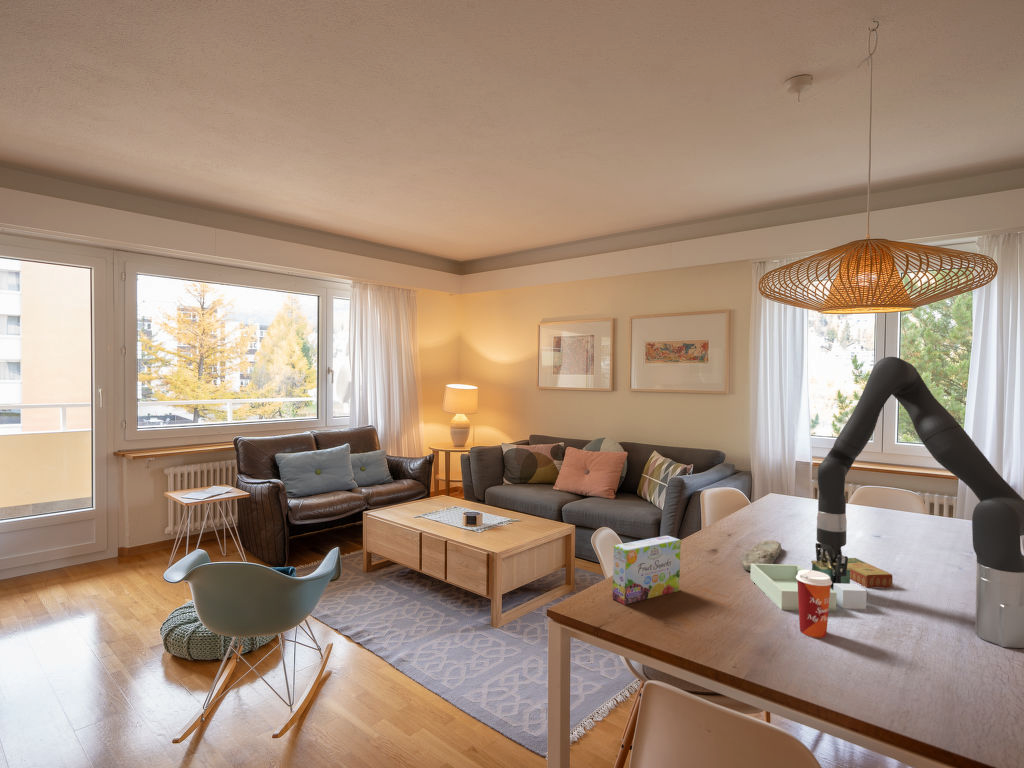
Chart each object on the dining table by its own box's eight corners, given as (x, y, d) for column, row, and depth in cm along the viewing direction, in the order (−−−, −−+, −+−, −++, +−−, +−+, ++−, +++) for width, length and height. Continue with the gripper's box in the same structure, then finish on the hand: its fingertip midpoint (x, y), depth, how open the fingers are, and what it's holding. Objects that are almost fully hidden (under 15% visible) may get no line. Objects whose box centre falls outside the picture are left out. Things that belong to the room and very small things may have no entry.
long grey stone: (787, 553, 201) (758, 550, 206) (787, 538, 201) (757, 535, 207) (769, 576, 172) (735, 571, 178) (769, 558, 172) (735, 554, 178)
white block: (866, 609, 148) (866, 590, 148) (842, 608, 149) (843, 590, 149) (855, 602, 153) (856, 583, 153) (833, 601, 154) (833, 583, 154)
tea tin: (850, 592, 160) (851, 567, 160) (820, 591, 160) (821, 567, 160) (839, 585, 166) (840, 561, 166) (811, 584, 166) (811, 560, 166)
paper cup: (816, 642, 129) (817, 582, 129) (787, 628, 136) (788, 571, 136) (839, 636, 132) (840, 577, 132) (810, 623, 139) (811, 567, 139)
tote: (836, 611, 146) (836, 592, 146) (781, 609, 147) (781, 590, 147) (797, 581, 168) (798, 564, 168) (750, 579, 169) (750, 563, 169)
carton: (866, 589, 164) (866, 574, 164) (831, 570, 180) (831, 557, 180) (893, 588, 165) (893, 573, 164) (855, 570, 181) (855, 556, 181)
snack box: (626, 606, 149) (626, 549, 148) (611, 599, 153) (612, 544, 153) (680, 591, 160) (681, 538, 160) (665, 584, 165) (666, 533, 164)
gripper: (858, 534, 156) (857, 594, 156) (831, 521, 170) (831, 576, 170) (830, 533, 156) (829, 593, 156) (806, 520, 170) (805, 575, 170)
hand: (830, 584), depth 163 cm, fingers closed on tea tin, 5 cm apart
